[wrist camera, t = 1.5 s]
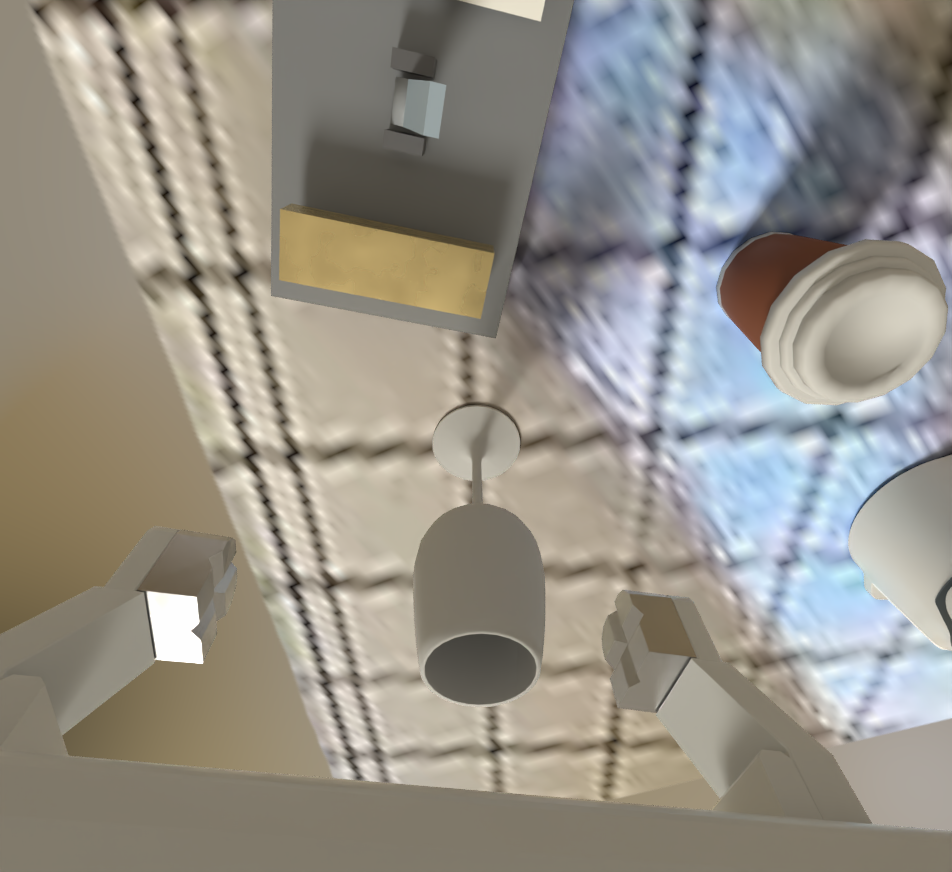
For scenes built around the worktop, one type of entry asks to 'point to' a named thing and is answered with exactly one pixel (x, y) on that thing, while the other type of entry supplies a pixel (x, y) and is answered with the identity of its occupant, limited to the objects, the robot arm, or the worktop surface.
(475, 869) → the robot arm
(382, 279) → the gold rectangular block
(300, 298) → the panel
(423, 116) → the paddle
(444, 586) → the wineglass
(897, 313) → the coffee cup
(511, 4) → the white slab
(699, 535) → the worktop surface
